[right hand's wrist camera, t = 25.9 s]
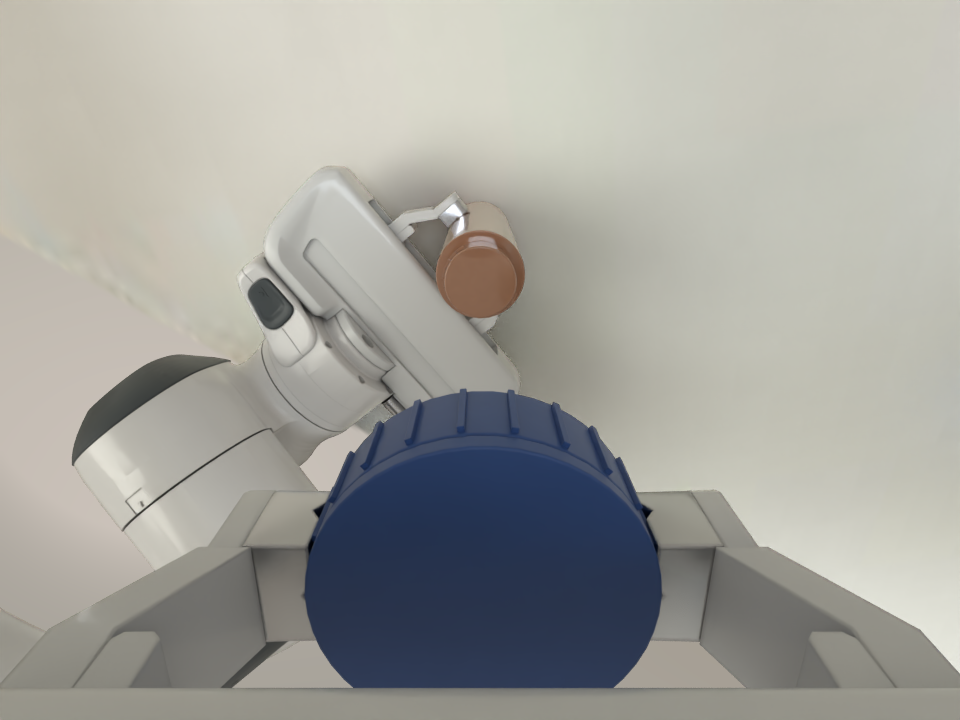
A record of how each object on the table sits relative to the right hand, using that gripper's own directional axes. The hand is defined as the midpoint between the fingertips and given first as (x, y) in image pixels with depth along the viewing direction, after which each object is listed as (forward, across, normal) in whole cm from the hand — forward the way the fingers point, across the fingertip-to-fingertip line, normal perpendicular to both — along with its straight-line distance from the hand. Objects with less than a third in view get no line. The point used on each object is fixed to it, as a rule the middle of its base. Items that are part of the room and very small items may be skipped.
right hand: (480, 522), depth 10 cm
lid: (-2, 0, 0) cm, 2 cm away
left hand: (+31, -1, 0) cm, 31 cm away
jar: (+37, 0, 0) cm, 37 cm away
